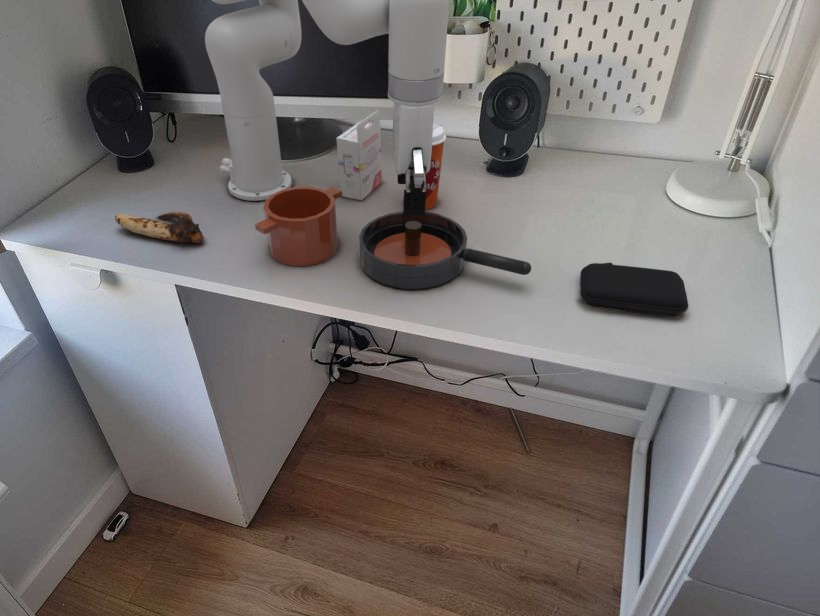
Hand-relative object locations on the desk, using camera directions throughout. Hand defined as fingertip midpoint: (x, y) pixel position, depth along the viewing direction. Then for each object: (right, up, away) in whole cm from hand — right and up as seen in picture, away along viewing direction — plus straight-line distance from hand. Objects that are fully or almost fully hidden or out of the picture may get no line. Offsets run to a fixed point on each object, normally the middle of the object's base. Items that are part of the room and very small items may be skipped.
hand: (410, 198), depth 99 cm
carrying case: (+33, -15, -2) cm, 36 cm away
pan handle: (+13, -11, 0) cm, 17 cm away
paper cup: (+4, +4, +22) cm, 23 cm away
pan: (+1, -9, +7) cm, 11 cm away
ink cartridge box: (-7, +8, +27) cm, 29 cm away
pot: (-17, -6, +11) cm, 22 cm away
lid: (+1, -8, +6) cm, 10 cm away
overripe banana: (-43, -2, +17) cm, 46 cm away
